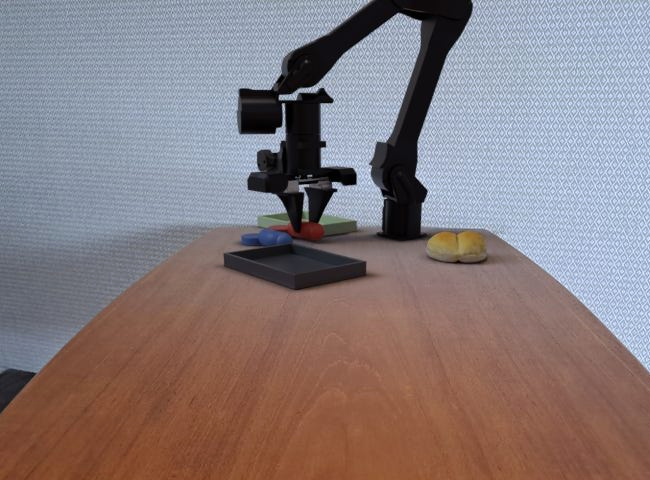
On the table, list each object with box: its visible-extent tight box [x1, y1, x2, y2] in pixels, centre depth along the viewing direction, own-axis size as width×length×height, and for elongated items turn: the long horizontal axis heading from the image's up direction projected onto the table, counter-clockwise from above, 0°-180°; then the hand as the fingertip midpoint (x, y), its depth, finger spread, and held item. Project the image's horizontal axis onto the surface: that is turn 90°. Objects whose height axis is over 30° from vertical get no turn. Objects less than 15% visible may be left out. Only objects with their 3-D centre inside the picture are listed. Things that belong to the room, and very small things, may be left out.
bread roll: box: [426, 230, 488, 264], centre depth 101 cm, size 8×9×4 cm
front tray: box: [222, 242, 367, 290], centre depth 94 cm, size 17×12×2 cm
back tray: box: [256, 209, 358, 237], centre depth 125 cm, size 16×11×2 cm
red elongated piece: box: [267, 221, 325, 241], centre depth 115 cm, size 12×5×3 cm, turn 49°
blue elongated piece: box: [240, 228, 294, 247], centre depth 109 cm, size 12×5×3 cm, turn 40°
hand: (304, 231), depth 114 cm, fingers closed on red elongated piece, 3 cm apart
